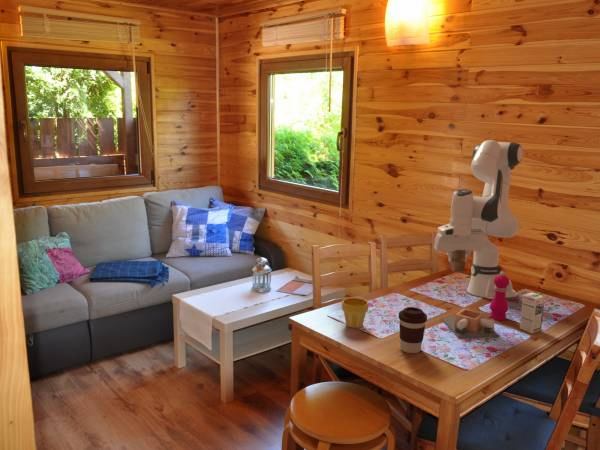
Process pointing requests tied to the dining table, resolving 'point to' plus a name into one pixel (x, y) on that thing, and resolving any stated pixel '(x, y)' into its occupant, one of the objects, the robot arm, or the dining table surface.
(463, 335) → the grey base with box
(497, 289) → the pepper mill
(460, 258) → the walnut coupler
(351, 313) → the plant pot
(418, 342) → the coffee cup
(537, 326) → the syrup box
